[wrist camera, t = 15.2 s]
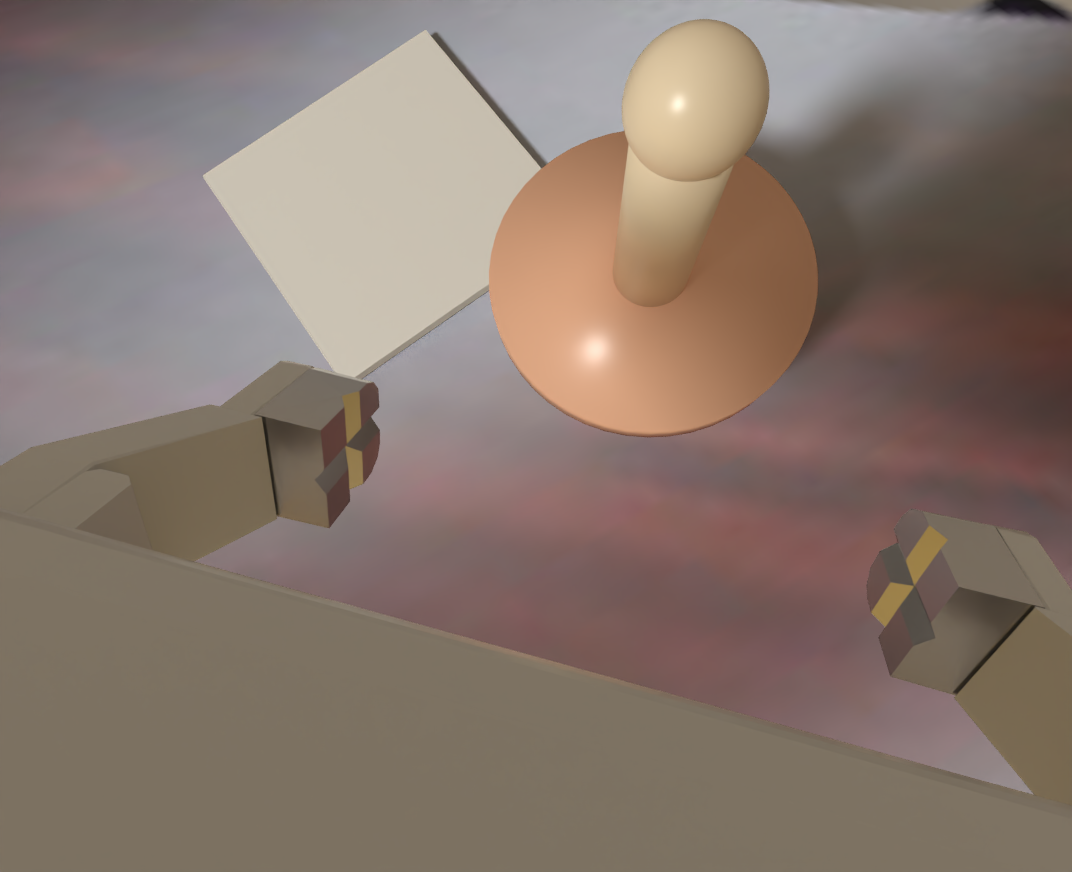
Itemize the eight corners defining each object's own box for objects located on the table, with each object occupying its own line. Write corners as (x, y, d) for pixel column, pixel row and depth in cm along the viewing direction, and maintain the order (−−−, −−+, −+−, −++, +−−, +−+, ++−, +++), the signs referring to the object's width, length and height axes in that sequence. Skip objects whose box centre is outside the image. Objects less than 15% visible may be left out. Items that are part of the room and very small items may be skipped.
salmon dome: (434, 259, 26) (319, 13, 15) (673, 95, 27) (747, -262, 15) (616, 502, 24) (657, 444, 12) (874, 313, 25) (1150, 84, 13)
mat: (208, 182, 34) (202, 175, 34) (427, 38, 35) (425, 29, 35) (347, 388, 31) (343, 384, 31) (583, 224, 32) (583, 218, 32)
